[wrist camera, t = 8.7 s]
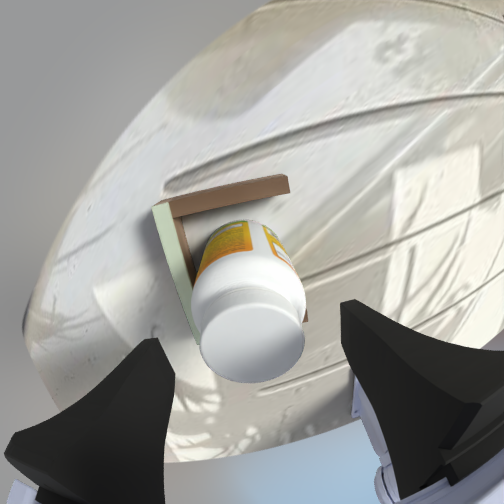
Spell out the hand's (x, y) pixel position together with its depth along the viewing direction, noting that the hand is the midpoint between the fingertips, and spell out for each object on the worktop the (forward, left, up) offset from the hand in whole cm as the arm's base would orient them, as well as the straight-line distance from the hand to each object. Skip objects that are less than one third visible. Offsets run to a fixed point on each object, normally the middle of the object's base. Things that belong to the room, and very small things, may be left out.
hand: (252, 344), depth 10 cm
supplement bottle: (0, 0, -10) cm, 10 cm away
